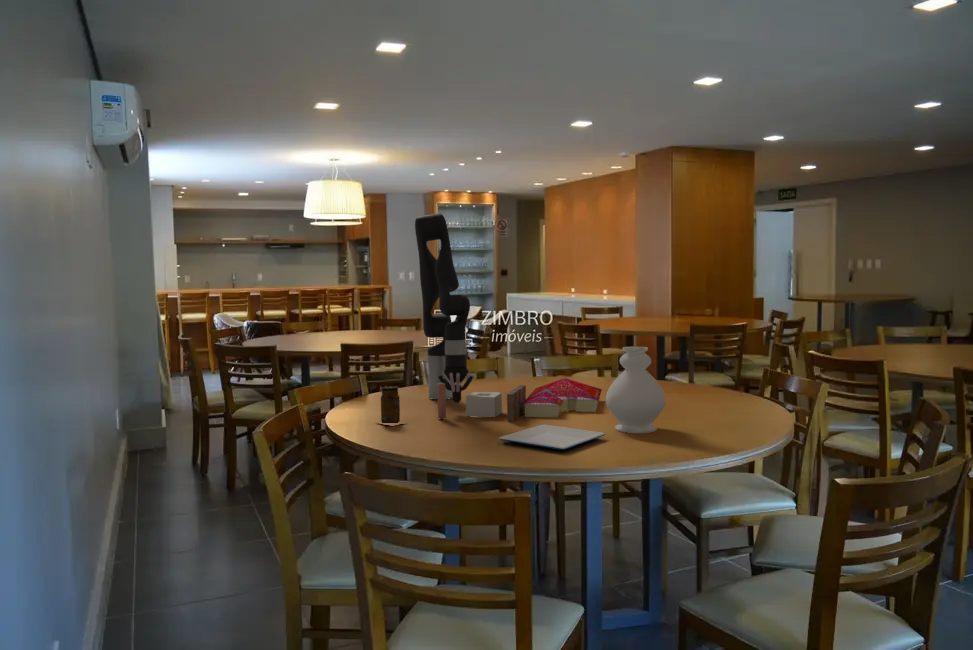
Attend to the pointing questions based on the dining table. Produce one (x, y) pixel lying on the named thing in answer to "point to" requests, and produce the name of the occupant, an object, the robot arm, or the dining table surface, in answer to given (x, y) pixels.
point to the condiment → (390, 405)
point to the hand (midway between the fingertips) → (456, 402)
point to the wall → (516, 403)
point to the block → (484, 404)
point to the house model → (561, 399)
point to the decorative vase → (635, 394)
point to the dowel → (441, 401)
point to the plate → (552, 436)
